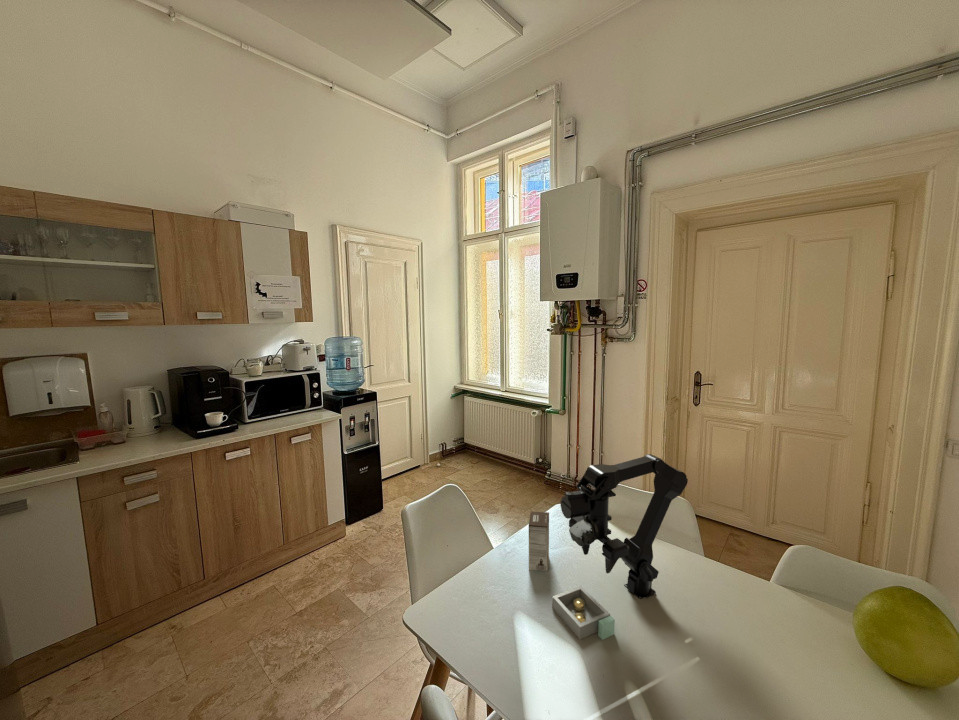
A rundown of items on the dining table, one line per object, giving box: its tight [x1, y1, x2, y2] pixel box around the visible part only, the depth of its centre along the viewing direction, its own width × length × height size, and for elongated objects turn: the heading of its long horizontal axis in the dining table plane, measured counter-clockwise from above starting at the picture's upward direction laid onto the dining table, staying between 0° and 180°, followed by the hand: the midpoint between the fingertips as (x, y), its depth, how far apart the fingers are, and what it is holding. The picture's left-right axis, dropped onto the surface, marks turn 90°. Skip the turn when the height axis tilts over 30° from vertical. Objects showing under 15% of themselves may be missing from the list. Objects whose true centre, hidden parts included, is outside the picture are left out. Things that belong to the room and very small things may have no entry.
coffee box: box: [528, 511, 550, 572], centre depth 130 cm, size 9×6×16 cm
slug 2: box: [574, 613, 586, 623], centre depth 104 cm, size 3×3×2 cm
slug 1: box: [573, 598, 584, 613], centre depth 110 cm, size 3×3×2 cm
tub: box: [551, 585, 611, 640], centre depth 107 cm, size 10×12×4 cm
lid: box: [597, 615, 616, 641], centre depth 97 cm, size 10×12×5 cm
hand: (596, 563), depth 112 cm, fingers open, 9 cm apart
